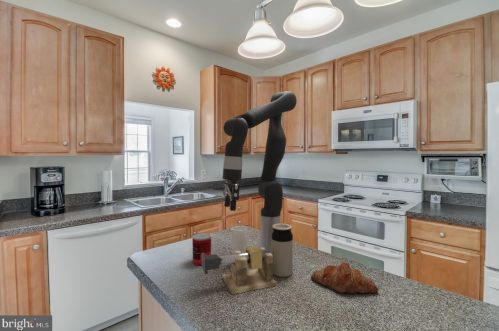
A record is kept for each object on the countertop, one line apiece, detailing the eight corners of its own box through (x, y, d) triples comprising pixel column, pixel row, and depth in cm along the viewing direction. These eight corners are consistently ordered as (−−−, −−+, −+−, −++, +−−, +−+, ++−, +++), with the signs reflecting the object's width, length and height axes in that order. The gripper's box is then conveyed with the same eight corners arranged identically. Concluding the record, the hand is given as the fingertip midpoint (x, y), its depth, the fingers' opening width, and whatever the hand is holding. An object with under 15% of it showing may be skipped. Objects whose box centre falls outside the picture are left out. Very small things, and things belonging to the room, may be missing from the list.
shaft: (263, 257, 94) (263, 244, 94) (269, 263, 89) (269, 249, 89) (201, 267, 86) (201, 252, 86) (204, 274, 81) (204, 259, 81)
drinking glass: (227, 265, 103) (227, 229, 102) (236, 259, 109) (236, 225, 108) (242, 269, 100) (242, 231, 99) (250, 262, 106) (250, 227, 105)
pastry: (334, 302, 77) (334, 276, 77) (309, 279, 92) (309, 257, 92) (379, 294, 82) (379, 270, 81) (349, 273, 96) (349, 252, 96)
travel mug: (292, 278, 92) (292, 229, 91) (270, 276, 93) (270, 228, 93) (292, 268, 100) (293, 223, 99) (272, 267, 101) (272, 222, 101)
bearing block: (262, 270, 98) (262, 245, 98) (276, 285, 87) (276, 256, 86) (222, 277, 92) (222, 250, 92) (231, 294, 81) (231, 263, 81)
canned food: (213, 258, 110) (213, 233, 110) (208, 266, 102) (208, 239, 102) (196, 257, 111) (195, 232, 111) (190, 265, 103) (189, 238, 103)
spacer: (255, 261, 94) (255, 245, 93) (262, 268, 88) (262, 251, 88) (245, 262, 92) (245, 246, 92) (251, 269, 87) (251, 252, 86)
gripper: (247, 169, 95) (244, 212, 95) (236, 168, 109) (233, 205, 109) (228, 168, 93) (225, 212, 93) (219, 167, 106) (216, 205, 106)
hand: (229, 208), depth 101 cm, fingers open, 8 cm apart
